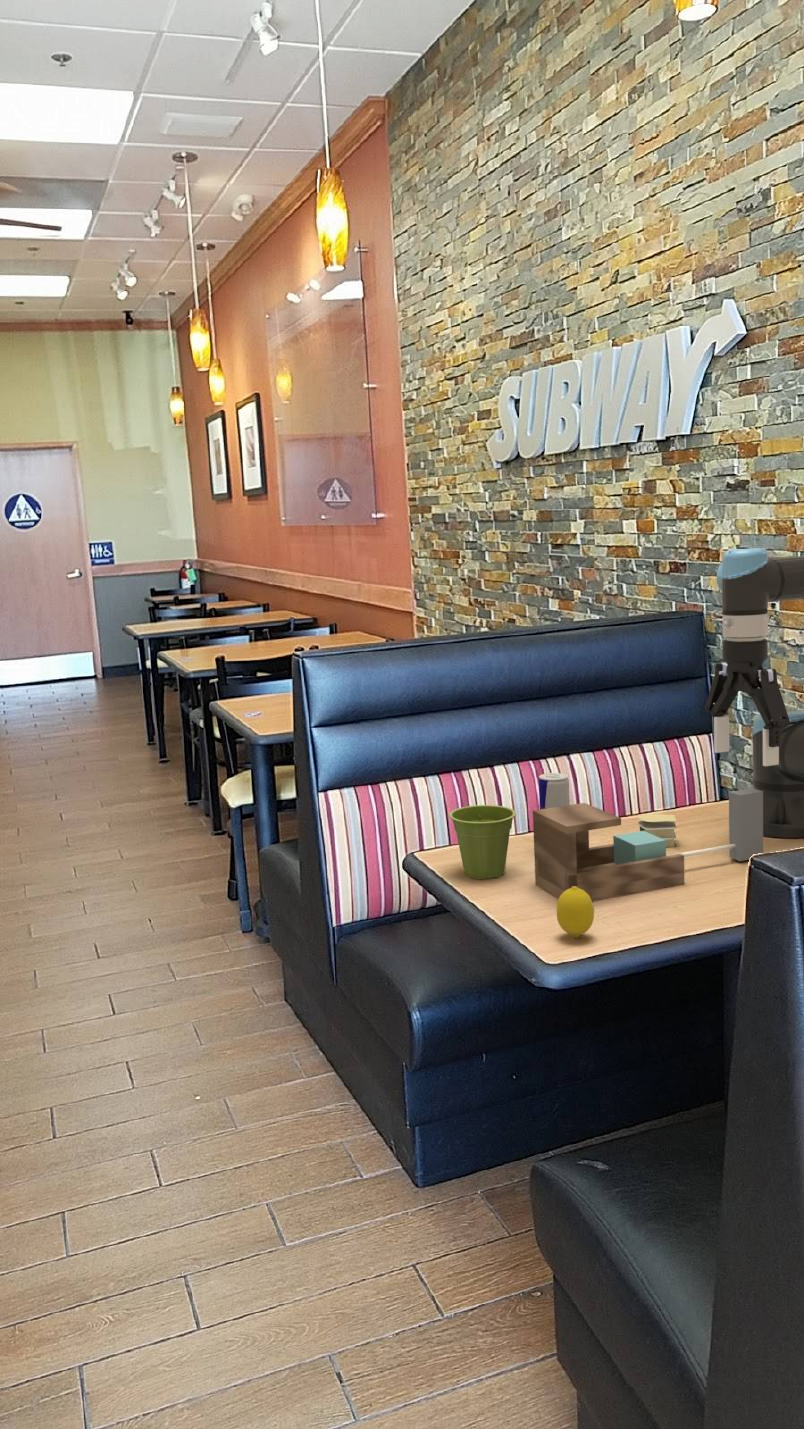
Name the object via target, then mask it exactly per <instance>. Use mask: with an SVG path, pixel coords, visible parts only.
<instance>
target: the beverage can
mask: <svg viewBox="0 0 804 1429" xmlns="http://www.w3.org/2000/svg"><path fill="white" fill-rule="evenodd" d="M538 798H539V799H538V802H539V810H540V809H547V808H553V807H560V806H567V805H571V803H570V801H571V800H570V780H569V775H568V774H566V773H560V772H548V773H543V774H540V775H539V776H538Z"/></svg>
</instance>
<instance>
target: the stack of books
mask: <svg viewBox="0 0 804 1429" xmlns="http://www.w3.org/2000/svg"><path fill="white" fill-rule="evenodd" d="M637 817H638V818H639V819H640V820H641V821H637V825H639V831H645V832H647V833H650V834H652V835H655V836H657V837H659V838H662V839H664V840H666V848H671V847H672V848H674V847H675V840H677V834H676V832H675V829H677V825H676V821H677V819H676V816H675V814H660V813H659V814H658V813H657V814H656V813H642V814H639V815H637Z"/></svg>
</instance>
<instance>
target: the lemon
mask: <svg viewBox="0 0 804 1429" xmlns="http://www.w3.org/2000/svg"><path fill="white" fill-rule="evenodd" d="M557 899H558V898H557ZM556 904H557V905H556V919H557V923H558V925H559V927H560V928H561V929H562V930H563V931H564V932H565V933H567V934H570V935H571V936H572V937H573V938H574V939H575V938H576V939H577V938H579V937H580V936H581V935H582V934H585V933H586V932H588V931H589V930H590V928H591V927H592V925H593V922H594V918H595V909H594V904H593V901H592V900H591V898H590V896H589V895H588V894H587V893H586V892H585V891H584V890H582V889H579V888H577V887H576V886H572V888H570V889H567V890H566V891H564V892H563V893H562V894H561V895H560V897H559V899H558V900H557V903H556Z"/></svg>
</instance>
